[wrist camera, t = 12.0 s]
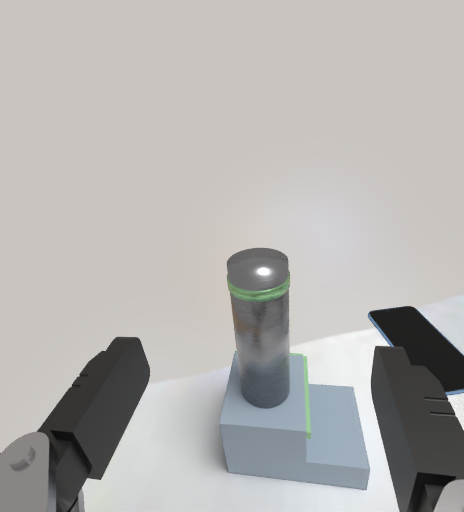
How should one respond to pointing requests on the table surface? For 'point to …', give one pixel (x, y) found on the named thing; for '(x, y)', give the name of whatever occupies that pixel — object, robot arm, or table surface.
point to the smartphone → (422, 344)
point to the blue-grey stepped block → (296, 433)
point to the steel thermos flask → (261, 324)
